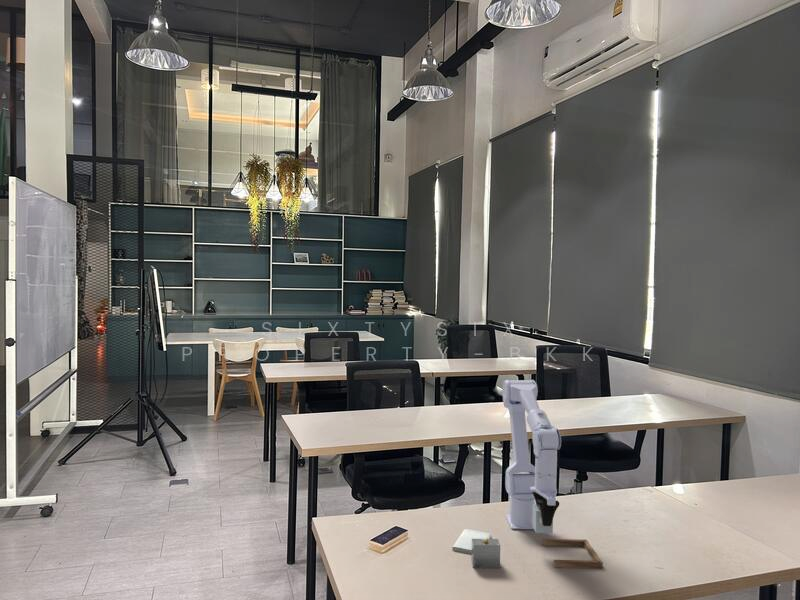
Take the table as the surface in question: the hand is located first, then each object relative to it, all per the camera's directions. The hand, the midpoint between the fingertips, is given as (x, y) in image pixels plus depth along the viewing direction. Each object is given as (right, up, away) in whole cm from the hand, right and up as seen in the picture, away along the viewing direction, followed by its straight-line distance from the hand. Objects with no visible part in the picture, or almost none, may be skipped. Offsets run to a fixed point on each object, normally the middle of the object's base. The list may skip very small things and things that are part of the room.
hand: (544, 521), depth 155 cm
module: (-1, -2, 0) cm, 2 cm away
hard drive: (-19, -9, +6) cm, 22 cm away
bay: (+7, -9, -1) cm, 11 cm away
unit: (-17, -9, -6) cm, 20 cm away
